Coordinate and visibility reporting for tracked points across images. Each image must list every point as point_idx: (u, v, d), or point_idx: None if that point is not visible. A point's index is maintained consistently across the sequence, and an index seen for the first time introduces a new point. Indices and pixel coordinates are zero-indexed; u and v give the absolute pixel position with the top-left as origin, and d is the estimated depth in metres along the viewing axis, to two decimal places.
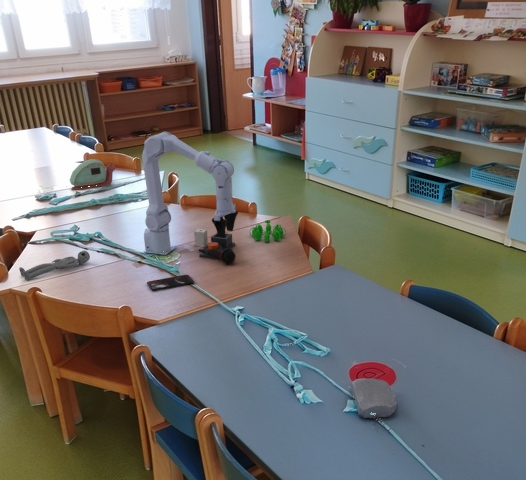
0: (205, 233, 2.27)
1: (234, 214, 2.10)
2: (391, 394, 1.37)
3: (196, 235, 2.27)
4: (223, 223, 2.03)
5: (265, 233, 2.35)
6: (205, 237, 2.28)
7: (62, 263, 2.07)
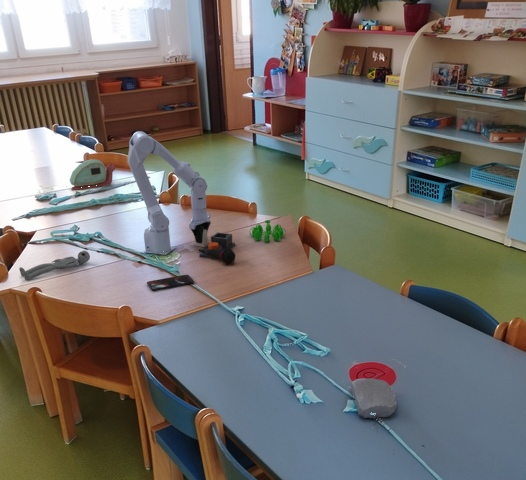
0: (205, 233, 2.27)
1: (207, 224, 2.27)
2: (391, 394, 1.37)
3: None
4: (200, 230, 2.23)
5: (265, 233, 2.35)
6: (205, 237, 2.28)
7: (62, 263, 2.07)
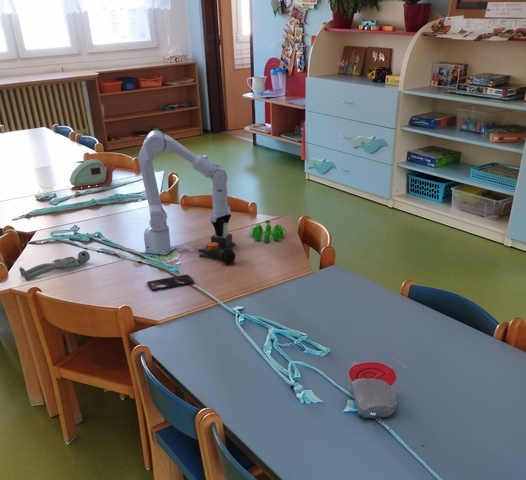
0: (225, 226, 2.22)
1: (227, 217, 2.22)
2: (391, 394, 1.37)
3: None
4: (221, 223, 2.18)
5: (265, 233, 2.35)
6: (225, 230, 2.23)
7: (62, 263, 2.07)
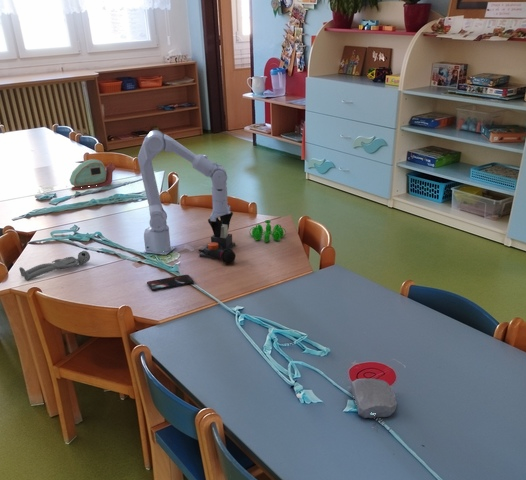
0: (226, 228, 2.23)
1: (229, 215, 2.24)
2: (391, 394, 1.37)
3: None
4: (219, 223, 2.16)
5: (265, 233, 2.35)
6: (226, 232, 2.23)
7: (62, 263, 2.07)
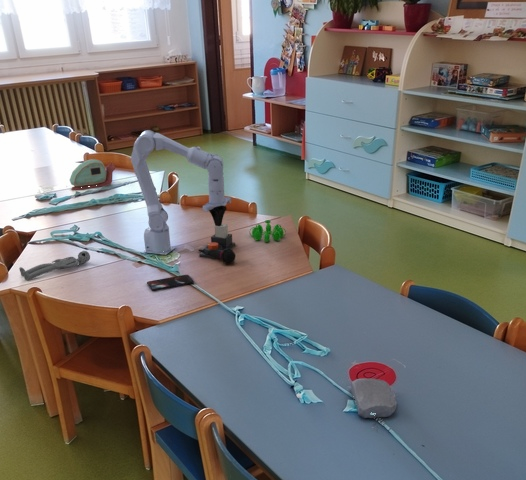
0: (226, 228, 2.23)
1: (222, 209, 2.16)
2: (391, 394, 1.37)
3: (216, 230, 2.23)
4: (217, 212, 2.15)
5: (265, 233, 2.35)
6: (226, 232, 2.23)
7: (62, 263, 2.07)
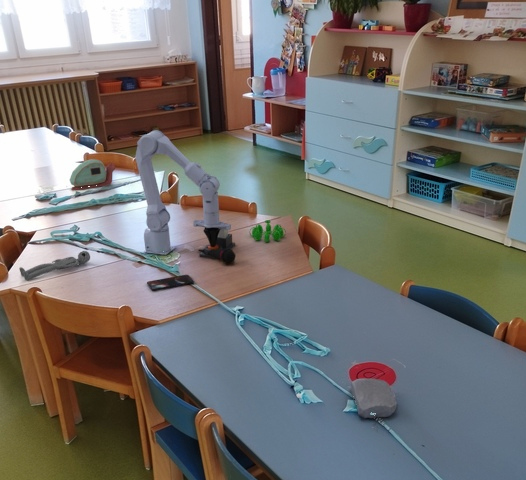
0: None
1: None
2: (391, 394, 1.37)
3: None
4: None
5: (265, 233, 2.35)
6: (226, 232, 2.23)
7: (62, 263, 2.07)
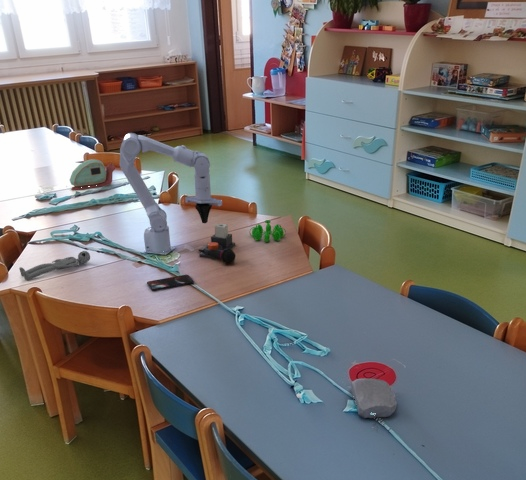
0: (226, 228, 2.23)
1: None
2: (391, 394, 1.37)
3: (216, 230, 2.23)
4: None
5: (265, 233, 2.35)
6: (226, 232, 2.23)
7: (62, 263, 2.07)
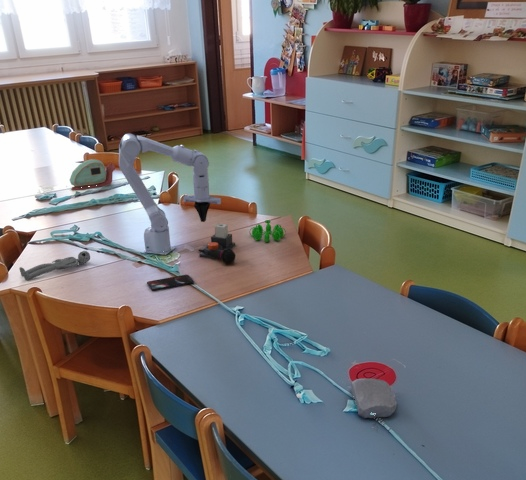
0: (226, 228, 2.23)
1: None
2: (391, 394, 1.37)
3: (216, 230, 2.23)
4: None
5: (265, 233, 2.35)
6: (226, 232, 2.23)
7: (62, 263, 2.07)
